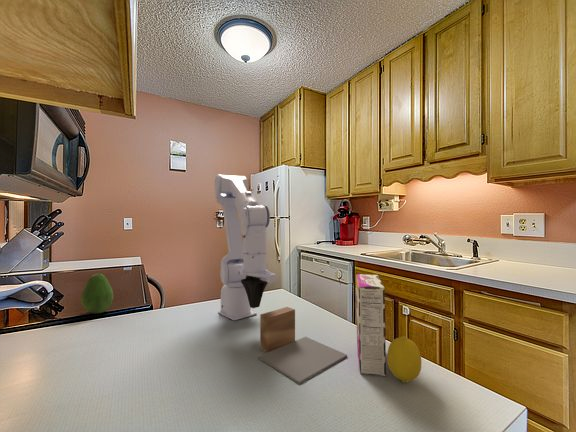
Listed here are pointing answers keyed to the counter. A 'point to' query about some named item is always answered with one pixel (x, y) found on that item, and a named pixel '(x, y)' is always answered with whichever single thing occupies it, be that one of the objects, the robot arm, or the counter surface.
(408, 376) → the lemon
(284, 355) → the mat
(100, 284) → the avocado
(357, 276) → the candy bar box
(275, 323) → the wooden block
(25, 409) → the counter surface
